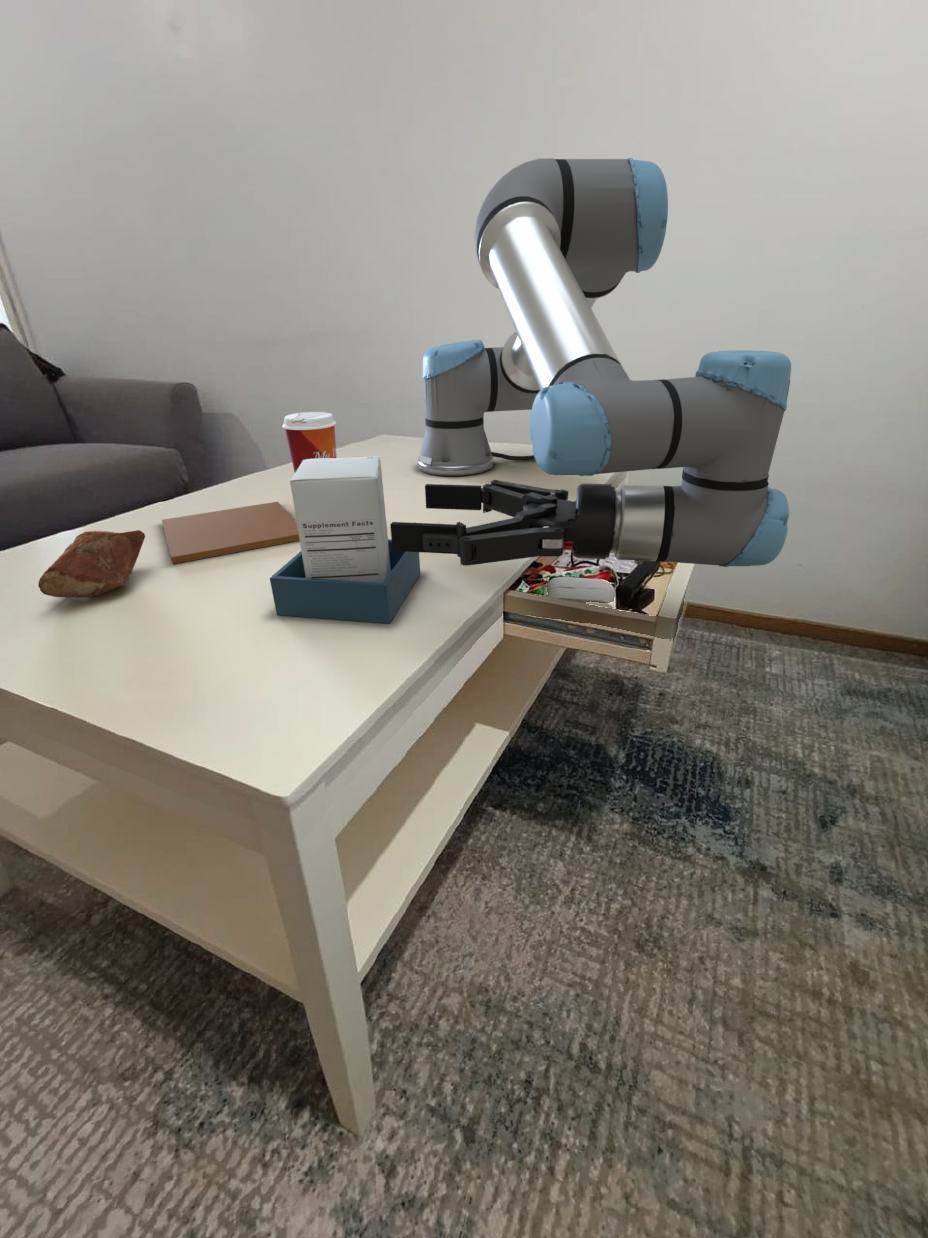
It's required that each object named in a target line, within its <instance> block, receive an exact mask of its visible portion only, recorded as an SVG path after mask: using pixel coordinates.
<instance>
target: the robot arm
mask: <svg viewBox="0 0 928 1238" xmlns="http://www.w3.org/2000/svg"><path fill="white" fill-rule="evenodd" d="M482 202H483V203H482V204H481V206H480V209H479V211H478V215H477V218H476V222H475V228H474V248H475V255H476V257H477V261H478V263H479V264H478V265H479V266H480V269H481V271H482V274H483V276H484V277H485V279H486V280H487V282H489V284H491V285H492V286H493V287H495V288H496V289H498V290H499V292H500V295H501V297H502V300H503V302H504V305H505V308H506V310H507V312H508V315H509V317H510V319H511V322H512V324H513V327H514V330H515V332H514V333H512V335H510V336H509V337H508V338H507V340H506V341H505V343H504V344H503V346H501V347H500V346H498V347H497V346H496V347H495V346H494V347H485V344H484V341H483V340H482V339H471V340H463V341H462V340H461V341H455V342H450V343H444V344H441V345H437V346H433V347H430V348H428V349H427V350H426V351H424V353H423V356H422V374H421V379H423V397H424V398H423V399H424V418H425V419H424V422H425V430H424V434H423V439H422V443H421V445H420V446H421V447H420V450H419V455H418V457H417V458H418V459H417V462H418V469H419V470H420V471H421V472H423V473H426V474H429V475H436V476H446V477H452V476H453V477H455V476H457V477H458V476H470V475H477V474H480V473H484V472H487V471H489V470H492V468H493V466H494V464H493V463H494V462H493V461H494V458H499V459H504V460H507V461H535V462H536V464H537V465H538V467H539V468H540V470H541V471H543V472H544V473H545V474H547V475H552V476H580V477H592V476H594V475H602V474H614V473H625V472H636V471H647V470H662V469H663V470H664V469H678V468H682V472H681V479H682V481H681V485H662V484H635V483H623V484H622V485H621V486H620V488H619V489H616V488H615V486H614V485H612V484H611V483H585V482H584V483H580V484H579V485H577V487H576V499H575V500H573V501H571V500H569V490H566V489H552V488H545V487H538V486H532V485H527V484H520V483H516V482H510V481H505V480H499V479H493V480H491V481H490V483H486V484H483V485H475V484H474V485H471V484H470V485H469V484H444V483H443V484H441V483H440V484H438V483H426V484H425V485H424V490H425V491H424V494H425V509H433V510H457V511H459V510H460V511H481V510H482V513H483V514H486V513H490V512H494V511H495V512H498V513H500V514H502V515H503V514H504V515H505V516H509V517H510V518H507V519H502V520H497V521H493V522H488V523H482V524H479V525H474V526H469V527H467V525H466V524H464V523H463V522H461V521H457V522H456V523H455V524H452V523H430V522H429V523H428V522H427V523H426V522H408V521H407V522H406V521H405V522H403V521H392V522H391V523H390V536H391V538H390V539H392V550H393V551H406V552H419V553H425V554H426V553H427V554H428V553H429V554H445V555H446V554H449V555H456V556H457V557H458V558H459V561H460V562H459V563H460V565H461V566H463V567H467V566H468V567H469V566H475V565H483V564H492V563H498V562H507V561H514V560H522V559H529V558H536V557H537V558H538V557H561V556H563V555H564V543H569V542H570V543H572V555H573V557H574V558H577V559H587V560H588V559H590V560H606V559H607V558H610V554H614V558H615V559H616V560H617V561H619V560H620V561H633V563H634V564H635V565H642V564H643V563H644V562H656V563H657V562H658V563H663V562H666V563H667V562H668V563H677V564H679V563H680V564H691V565H693V564H694V565H707V566H719V567H721V568H722V567H723V568H728V567H755V566H756V567H757V566H766V565H768V564H771V563H772V562H774V560H776V559H777V557H778V556H779V555H780V553H781V551H782V549H783V547H784V545H785V542H786V539H787V536H788V531H789V530H788V529H789V527H788V521H789V518H790V508H789V502H788V499H787V496H786V494H785V493H784V492H783V491H781V490H780V489H776V488H771V487H769V485H770V482H769V477H770V475H769V473H770V468H771V465H772V461H773V458H774V454H775V449H776V445H777V442H778V438H779V434H780V430H781V426H782V422H783V419H784V416H785V415H784V414H785V412H786V411H787V407H788V404H787V403H788V397H789V391H790V385H791V374H792V373H791V372H792V362H791V360H790V358H789V356H787V355H786V354H784V353H783V352H779V351H778V352H777V351H771V350H752V349H751V350H750V349H749V350H747V349H746V350H745V349H744V350H741V349H739V350H734V349H733V350H718V351H709V352H707V353H705V354H704V355H703V356H702V357H701V359H700V361H699V364H698V367H697V371H696V372H695V376H691V377H690V376H689V377H688V376H687V377H679V378H678V377H677V378H667V379H664V378H663V379H646V380H633V379H630V377H629V375H628V374H627V372H626V370H625V369H624V367H623V365H622V363H621V362H620V360H619V358H618V355H617V353H616V351H615V350H614V348H613V346H612V344H611V343H610V340H609V339H608V337H607V335H606V333H605V331H604V330H603V327H602V326H601V324H600V322H599V320H598V317H596V315H595V313H594V310H593V309H592V308H593V306H594V304H595V303H596V301H597V300H598V299H601V298H604V297H607V296H608V295H609V294H611V293H612V292H613V291H614V290H616V289H617V287H618V286H619V285H620V283H621V282H622V280H623V278H624V277H625V275H626V274H627V273H629V272H635V274H640V273H641V272H646V271H649V270H650V269H652V267H654V266H655V264H656V262H657V261H658V259H659V258H660V254H661V252H662V249H663V245H664V242H665V237H666V232H667V224H668V218H669V217H668V215H669V195H668V187H667V182H666V179H665V175H664V173H663V171H662V169H661V168H660V167H659V165H657V163H654V162H653V161H649V160H639V159H634V158H632V157H628V158H552V157H551V158H550V157H549V158H547V157H546V158H536V159H533V160H528V161H525V162H523V163H520V164H519V165H517V166H515V167H513V168H512V169H511V170H509V171H508V172H506V173H505V174H504V175H502V177H500V179H499V180H498V181H497V182H496V183H495V184H494V186H493V187H492V188H491V189H490V190H489V192H488V193H487V195H486V197H485V198H484V200H483V201H482ZM512 411H530V423H529V428H530V429H529V430H530V434H529V435H530V440H531V443H532V455H509V454H505V453H500V452H495V451H492V450H491V447H490V443H489V441H488V437H487V434H486V431H485V425H484V424H485V423H484V421H485V420H484V414H485V413H493V412H494V413H495V412H512Z"/></svg>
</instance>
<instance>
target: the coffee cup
mask: <svg viewBox="0 0 928 1238" xmlns="http://www.w3.org/2000/svg"><path fill="white" fill-rule="evenodd" d="M335 426H337V421H336V420H335V419H334V416H333V414H332V413H331V412H326V411H304V412H296V413H290V414H287V415H285V416H284V418H283V424H282V426H281V427H282V428H283V429H284V430H285V435H286V440H287V444H288V448H289V453H290V459H291V463H292V467H293V471H294V473H295V472H296V471H297V469H298V468H299V466H300V464H301V463H302V461H303V460H306V459H316V458H338V456H337V444H336V443H337V442H336V429H335V428H336V427H335Z"/></svg>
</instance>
